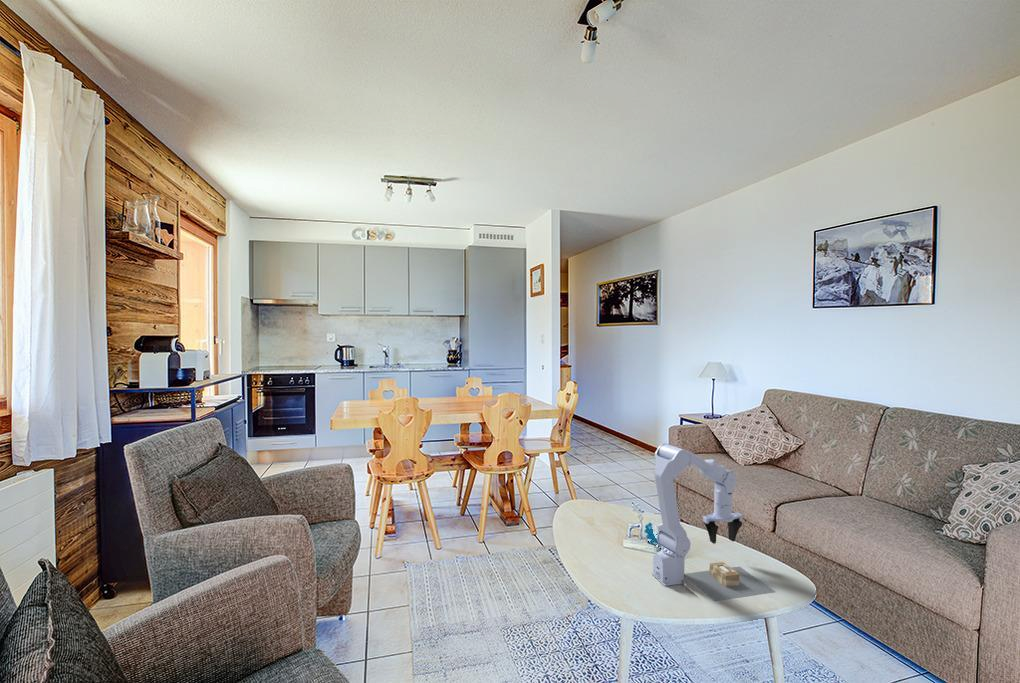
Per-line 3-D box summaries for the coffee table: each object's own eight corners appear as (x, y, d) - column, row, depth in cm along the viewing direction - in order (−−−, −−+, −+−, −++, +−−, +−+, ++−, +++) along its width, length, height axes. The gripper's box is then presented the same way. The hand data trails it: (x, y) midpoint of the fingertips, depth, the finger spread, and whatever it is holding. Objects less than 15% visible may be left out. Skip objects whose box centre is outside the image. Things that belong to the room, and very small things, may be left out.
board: (714, 604, 142) (715, 589, 142) (683, 576, 157) (683, 563, 157) (776, 595, 147) (776, 580, 147) (739, 569, 162) (739, 556, 162)
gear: (654, 548, 174) (642, 522, 180) (644, 555, 177) (632, 529, 183) (674, 545, 179) (661, 520, 186) (664, 552, 183) (651, 527, 189)
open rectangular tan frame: (709, 574, 157) (709, 563, 157) (722, 572, 158) (722, 561, 158) (725, 586, 149) (725, 575, 149) (739, 585, 151) (739, 573, 150)
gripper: (712, 509, 159) (711, 548, 159) (749, 505, 163) (748, 544, 163) (699, 501, 166) (698, 539, 166) (734, 498, 169) (733, 535, 170)
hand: (722, 541), depth 165 cm, fingers open, 7 cm apart
